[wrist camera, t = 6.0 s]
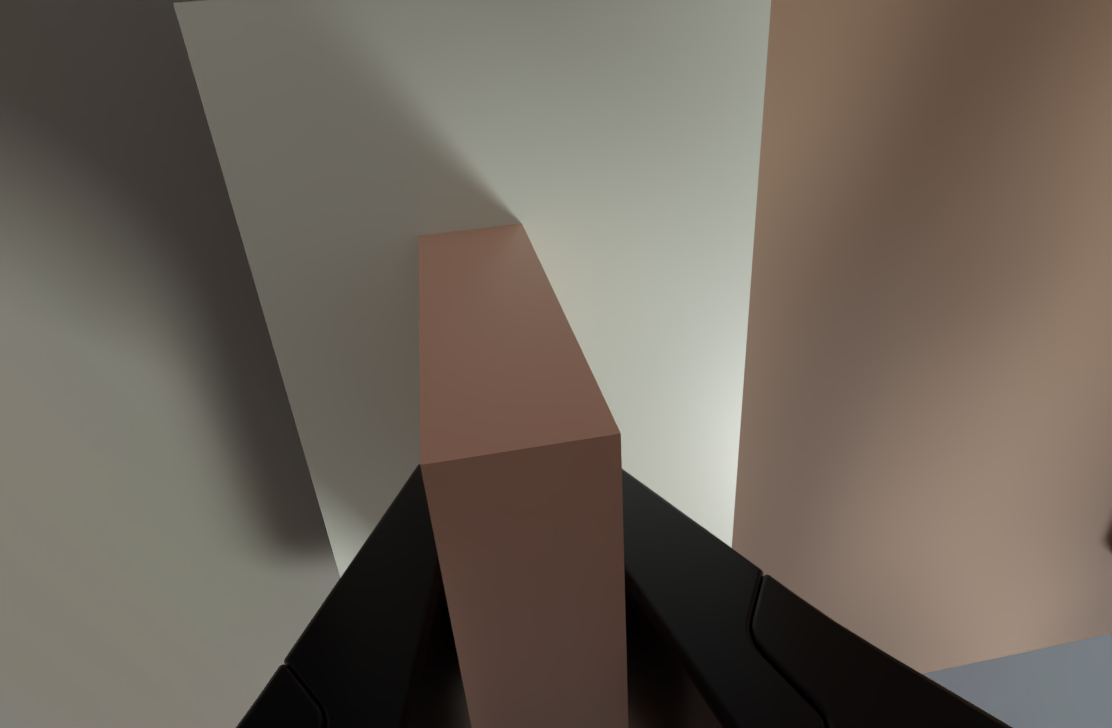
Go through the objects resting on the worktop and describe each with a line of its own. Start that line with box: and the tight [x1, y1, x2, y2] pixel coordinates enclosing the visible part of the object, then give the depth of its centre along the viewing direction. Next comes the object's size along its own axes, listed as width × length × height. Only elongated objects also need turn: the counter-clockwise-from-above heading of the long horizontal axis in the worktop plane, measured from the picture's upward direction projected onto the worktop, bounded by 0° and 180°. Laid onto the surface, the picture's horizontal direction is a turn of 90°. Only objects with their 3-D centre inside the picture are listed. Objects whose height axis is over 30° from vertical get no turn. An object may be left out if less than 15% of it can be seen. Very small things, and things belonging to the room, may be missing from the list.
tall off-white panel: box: [173, 0, 771, 728], centre depth 8 cm, size 6×11×5 cm, turn 4°
